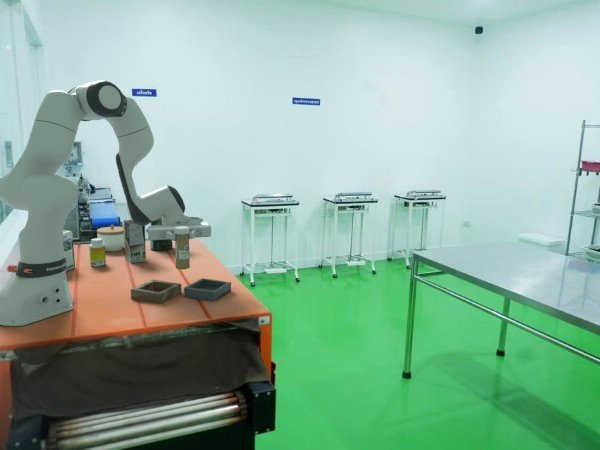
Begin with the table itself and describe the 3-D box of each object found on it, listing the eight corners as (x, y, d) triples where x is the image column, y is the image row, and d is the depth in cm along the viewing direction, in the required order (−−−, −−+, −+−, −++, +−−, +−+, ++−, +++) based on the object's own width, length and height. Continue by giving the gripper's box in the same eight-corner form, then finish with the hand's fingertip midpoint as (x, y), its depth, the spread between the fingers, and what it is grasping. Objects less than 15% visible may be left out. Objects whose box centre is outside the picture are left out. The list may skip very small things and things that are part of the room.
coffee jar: (170, 245, 210) (169, 206, 206) (174, 249, 203) (173, 209, 200) (148, 247, 205) (147, 207, 202) (151, 251, 199) (150, 210, 195)
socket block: (160, 303, 138) (160, 294, 137) (131, 298, 141) (130, 289, 141) (181, 292, 148) (181, 283, 147) (153, 288, 151) (152, 279, 151)
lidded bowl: (94, 253, 194) (92, 227, 191) (102, 246, 206) (100, 222, 204) (125, 252, 196) (123, 227, 193) (131, 245, 208) (130, 222, 206)
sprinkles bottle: (185, 270, 143) (184, 229, 140) (172, 269, 144) (171, 227, 141) (192, 266, 147) (191, 226, 144) (180, 265, 148) (179, 225, 145)
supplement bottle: (107, 265, 176) (106, 239, 174) (92, 267, 173) (91, 241, 171) (103, 262, 180) (102, 237, 178) (88, 264, 177) (87, 238, 175)
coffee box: (146, 261, 183) (145, 222, 180) (130, 263, 180) (128, 223, 176) (140, 256, 190) (139, 218, 187) (124, 258, 187) (122, 219, 184)
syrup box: (65, 272, 166) (62, 233, 163) (51, 270, 167) (48, 232, 164) (75, 267, 171) (73, 230, 169) (61, 266, 173) (59, 229, 170)
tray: (214, 301, 141) (214, 292, 140) (184, 296, 144) (183, 287, 144) (231, 290, 151) (231, 282, 150) (202, 286, 154) (202, 278, 154)
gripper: (145, 220, 150) (147, 228, 138) (206, 217, 158) (214, 225, 145) (146, 238, 152) (148, 248, 139) (207, 235, 159) (214, 244, 146)
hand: (182, 236), depth 142 cm, fingers closed on sprinkles bottle, 4 cm apart
